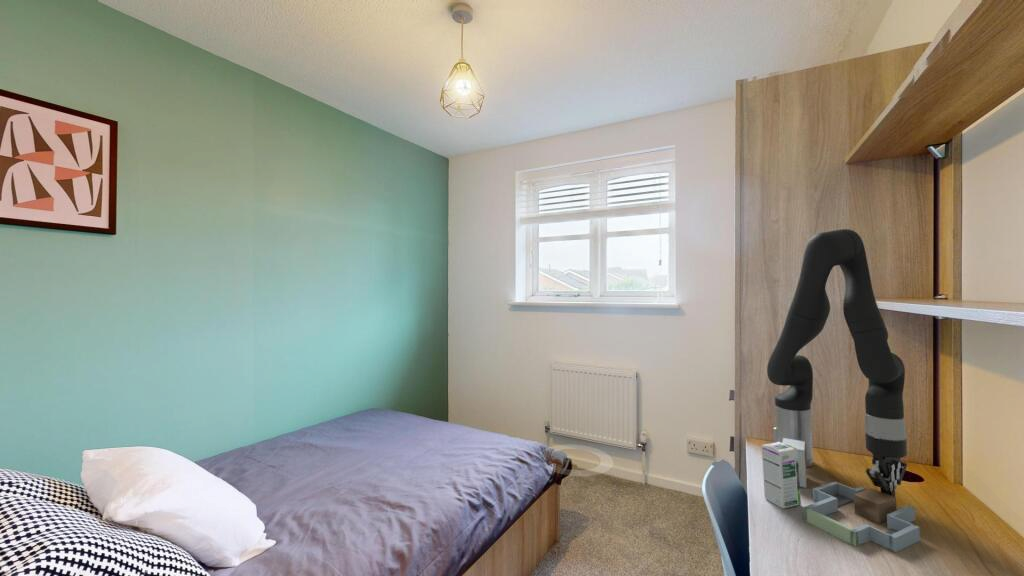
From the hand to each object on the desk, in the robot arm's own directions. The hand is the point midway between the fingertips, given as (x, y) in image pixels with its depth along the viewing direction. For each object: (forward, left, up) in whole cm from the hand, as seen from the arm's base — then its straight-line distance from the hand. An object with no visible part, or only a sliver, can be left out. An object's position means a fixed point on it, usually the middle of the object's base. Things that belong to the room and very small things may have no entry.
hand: (888, 503), depth 101 cm
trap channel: (0, -12, -1) cm, 12 cm away
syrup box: (-13, -20, -1) cm, 24 cm away
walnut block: (0, -6, -1) cm, 6 cm away
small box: (-19, -6, -2) cm, 20 cm away
